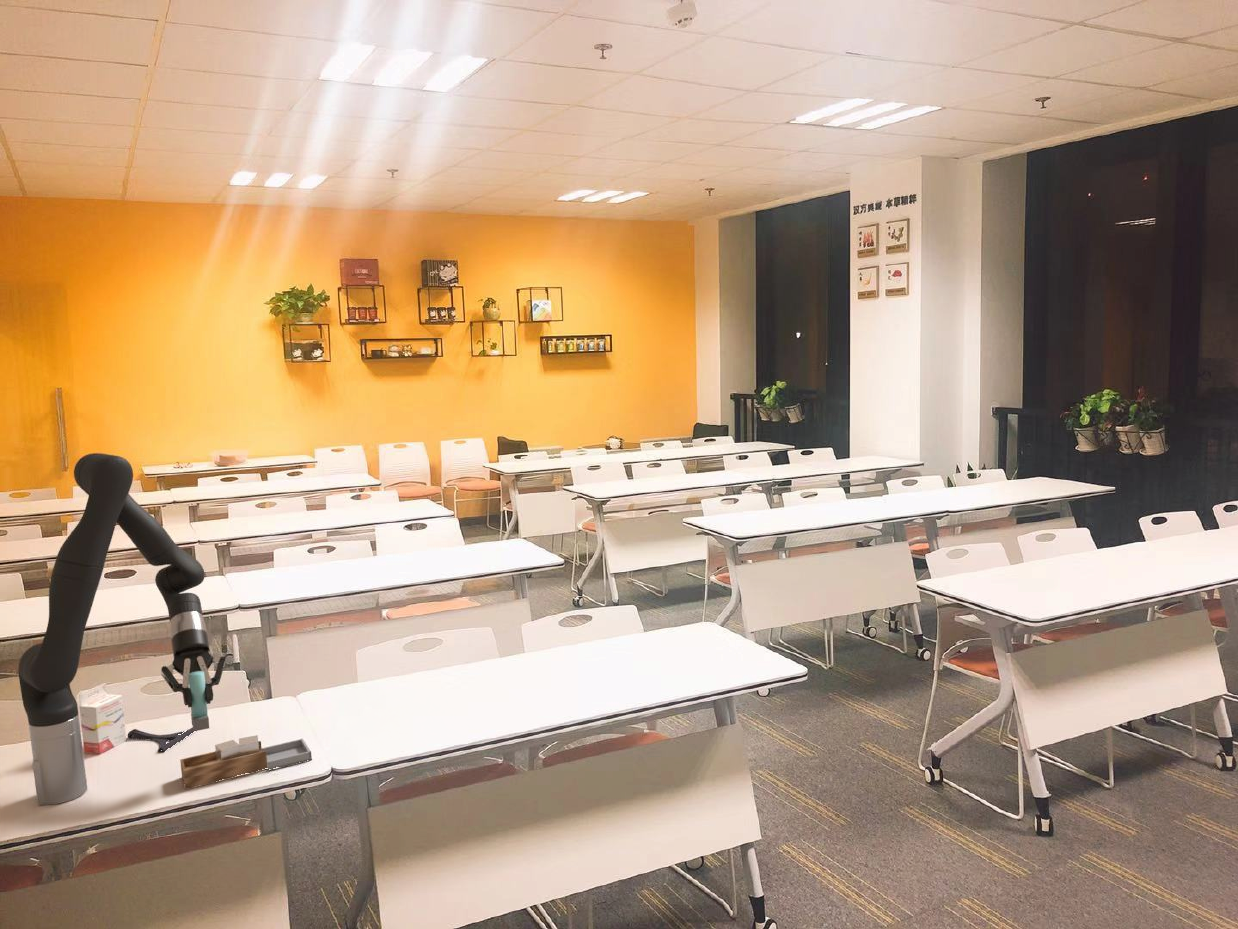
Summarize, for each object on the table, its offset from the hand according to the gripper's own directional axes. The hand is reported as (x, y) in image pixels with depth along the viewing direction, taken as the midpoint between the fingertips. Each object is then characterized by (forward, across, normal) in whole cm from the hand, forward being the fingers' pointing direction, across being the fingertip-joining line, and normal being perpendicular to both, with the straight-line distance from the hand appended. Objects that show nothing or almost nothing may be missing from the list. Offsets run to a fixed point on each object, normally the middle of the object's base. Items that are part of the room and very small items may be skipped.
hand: (199, 703), depth 208 cm
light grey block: (+10, +5, +11) cm, 16 cm away
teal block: (+3, 0, +6) cm, 6 cm away
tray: (+11, +17, +13) cm, 24 cm away
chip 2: (+10, +10, +11) cm, 18 cm away
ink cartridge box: (-12, -18, +37) cm, 43 cm away
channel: (+12, +4, +13) cm, 18 cm away
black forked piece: (-10, -7, +36) cm, 38 cm away
